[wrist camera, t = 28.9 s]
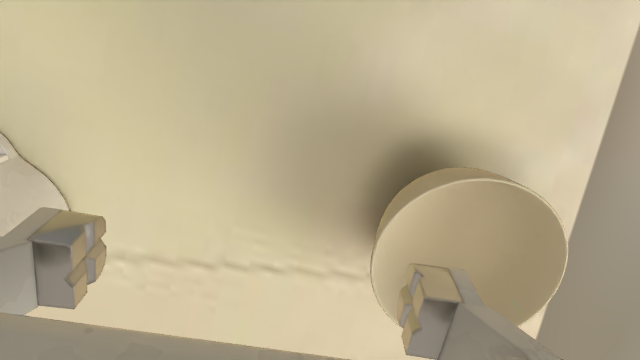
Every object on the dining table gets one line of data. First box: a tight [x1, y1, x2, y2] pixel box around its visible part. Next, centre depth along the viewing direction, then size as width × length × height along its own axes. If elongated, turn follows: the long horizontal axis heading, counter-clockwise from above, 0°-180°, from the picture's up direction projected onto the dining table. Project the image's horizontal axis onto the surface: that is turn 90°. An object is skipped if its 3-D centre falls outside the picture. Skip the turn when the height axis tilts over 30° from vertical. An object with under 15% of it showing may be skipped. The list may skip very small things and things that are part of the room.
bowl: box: [370, 167, 568, 329], centre depth 42 cm, size 16×16×10 cm
